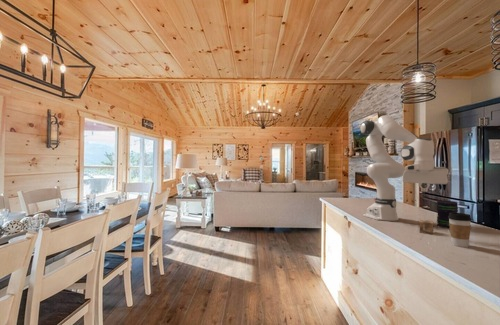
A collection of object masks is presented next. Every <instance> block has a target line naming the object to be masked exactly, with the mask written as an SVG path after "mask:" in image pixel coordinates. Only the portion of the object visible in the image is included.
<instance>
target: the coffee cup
mask: <svg viewBox="0 0 500 325" xmlns="http://www.w3.org/2000/svg"><path fill="white" fill-rule="evenodd" d="M448 218H449V226H450V229H449V232H450V239H451V240H450V241H451V244H452V245H453V246H456V247H460V248H469V246H470V237H471V236H470V235H471V229H472V228H471V227H472V226H471V222H472V218H471V214H467V213H463V212H457V213H449V216H448Z"/></svg>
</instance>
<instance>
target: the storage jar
mask: <svg viewBox="0 0 500 325" xmlns="http://www.w3.org/2000/svg"><path fill="white" fill-rule="evenodd" d="M458 206H459V205H458V202H457V201H452V200H437V201H436V210H437V216H436V218H437V219H436V223H437V224H436V225H437V227H440V228H442V229H443V228H444V229H449V230H450V226H449V218H448V216H449V213H459V212H458V211H459V210H458V209H459V207H458Z"/></svg>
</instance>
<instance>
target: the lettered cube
mask: <svg viewBox="0 0 500 325" xmlns="http://www.w3.org/2000/svg"><path fill="white" fill-rule="evenodd" d="M418 228H419V233H420V234H428V235H434V221H433V220H425V219H419V227H418Z"/></svg>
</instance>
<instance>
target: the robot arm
mask: <svg viewBox="0 0 500 325" xmlns="http://www.w3.org/2000/svg"><path fill="white" fill-rule="evenodd" d="M359 131H360V133H361V134H362V135H363V136H366V139H365V144H366V148H367V151H368V154H369V156H370V159H371V160H372V161H373V162H374V163H370V164H368V165H367V167H366V174H367V176H368V177H369V178H370V179H371V180H373V182H374V184H375V188H376V198H374V202H373V203H372V204H371V205H369V206H368V207H367V209H366V212H365V213H363V215H362V216H363V217H366V218H370V219H373V220H376V221H393V222H394V221H399V216H398V213H397V198H396V188H395V186H394V185H393V184H391V183H390V182H389V180H388V179H398V178H401V177H402V182H403V183H406V184H410V183H411V184H418V187H419V188H420V192H425V193H426V192H427V193H428V189H429V188H430V186H431V185H432V184H433V185H434V184H435V185H447V184H448V183H449V180H448V175H449V172H450V171H449V169H448V167H445V166H435V159H434V158H435V157H436V154H437V151H436V147H435V145H434V141H433V139H431V138H429V137H419V136H418V135H416V134H415V133H413V132H412V131H411V130H409V129H407V128H405V127H404V126H402V125H401V124H399V123H398V122H397V120H395V119H394V118H393V117H392V116H389V115H386V114H385V115H381V116H379V117H378V118H377V119H373V120H365V121H363V122H361V124H360V127H359ZM383 138H386V139H389V140H390V141H391V140H392V141H393V140H394V141H399V142H405V143H407V144H406V145H403V146H402V148H401V150H400V156H401V158H402V159H403V161H409V162H410V161H411V162H412V161H413V163H411V164H409V165H406V166H404V164H402V163H400V162H399V161H397V160H396V159H394V158H393V157H392V156H391V155H390V153H388V150H387V149H386V148H387V147H386V146H385V144H384V142H383ZM423 184H426V187H425V188H424V187H423V186H422V185H423Z"/></svg>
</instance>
